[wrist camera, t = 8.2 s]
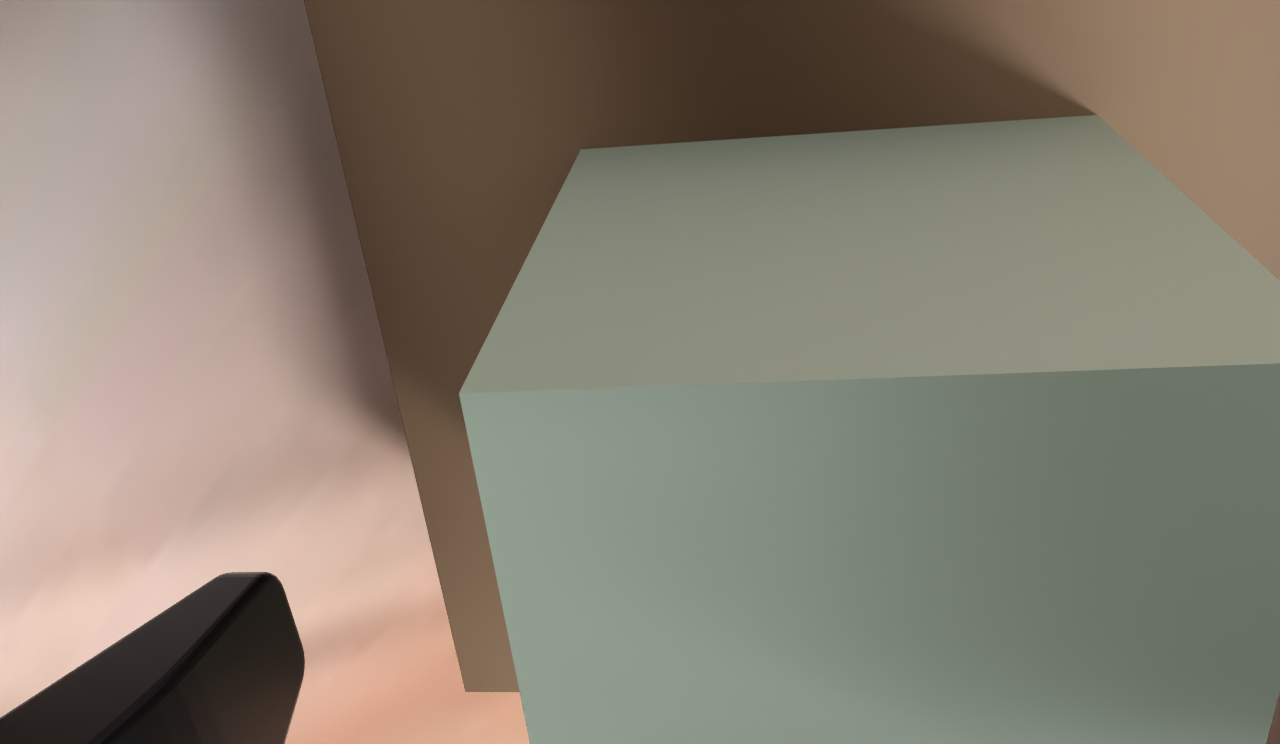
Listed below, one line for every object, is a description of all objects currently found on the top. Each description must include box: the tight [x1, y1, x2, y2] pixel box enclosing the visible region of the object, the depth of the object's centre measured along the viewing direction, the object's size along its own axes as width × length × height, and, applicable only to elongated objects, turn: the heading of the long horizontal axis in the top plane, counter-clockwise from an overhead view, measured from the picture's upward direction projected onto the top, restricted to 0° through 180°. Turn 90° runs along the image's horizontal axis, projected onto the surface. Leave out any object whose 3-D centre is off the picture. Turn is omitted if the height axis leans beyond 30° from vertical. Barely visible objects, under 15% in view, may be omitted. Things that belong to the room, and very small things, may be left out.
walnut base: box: [304, 0, 1280, 692], centre depth 13 cm, size 10×10×4 cm
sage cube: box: [459, 115, 1280, 744], centre depth 9 cm, size 5×5×5 cm
